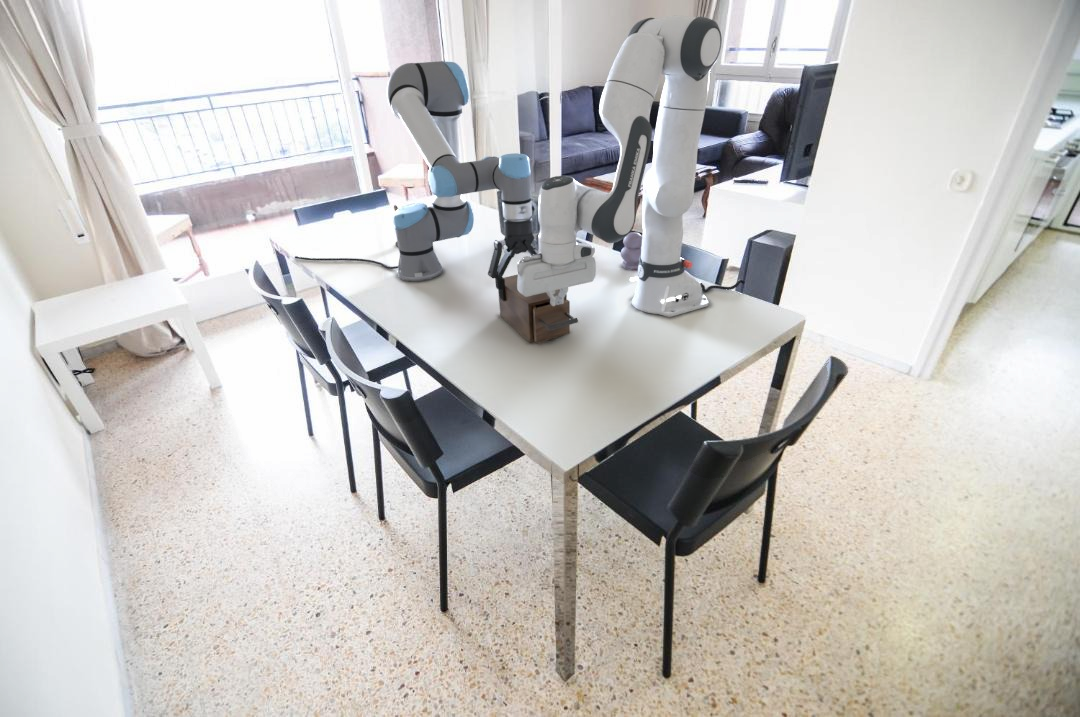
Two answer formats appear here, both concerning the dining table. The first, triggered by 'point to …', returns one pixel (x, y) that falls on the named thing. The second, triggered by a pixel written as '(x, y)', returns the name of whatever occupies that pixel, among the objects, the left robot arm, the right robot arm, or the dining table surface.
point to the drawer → (551, 321)
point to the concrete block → (534, 216)
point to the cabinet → (521, 307)
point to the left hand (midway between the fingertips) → (522, 294)
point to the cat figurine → (631, 250)
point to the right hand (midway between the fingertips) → (556, 304)
